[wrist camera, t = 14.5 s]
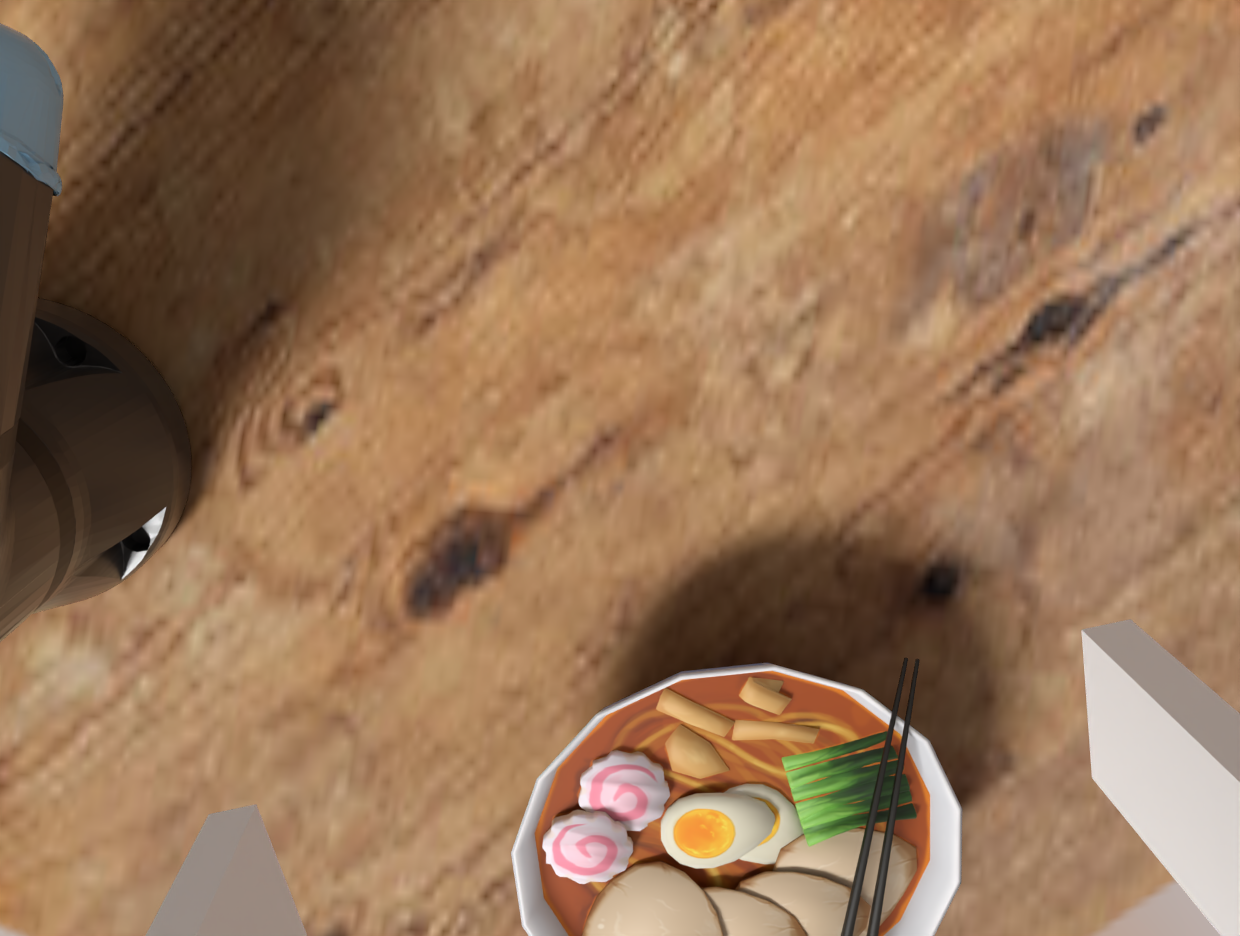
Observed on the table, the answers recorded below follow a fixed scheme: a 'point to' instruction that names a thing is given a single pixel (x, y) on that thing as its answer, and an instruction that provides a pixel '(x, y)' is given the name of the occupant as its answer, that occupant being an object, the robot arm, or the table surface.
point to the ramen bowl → (742, 815)
